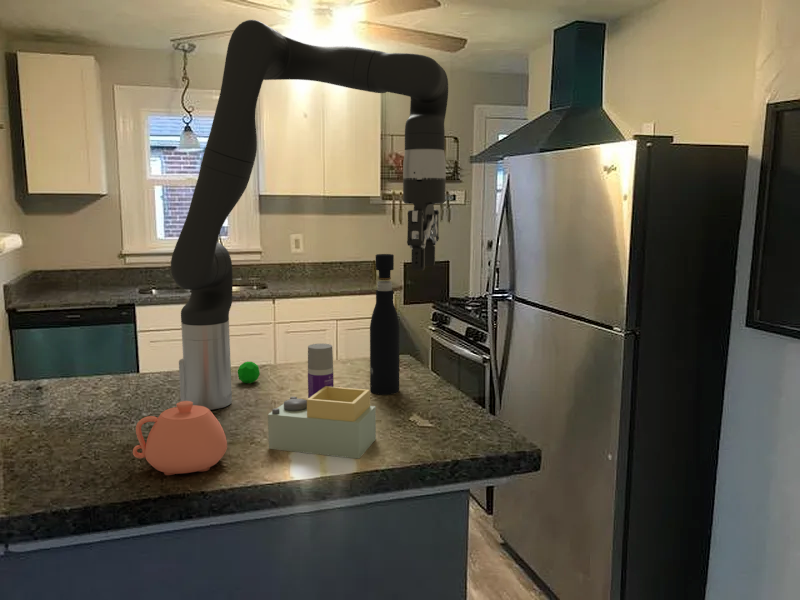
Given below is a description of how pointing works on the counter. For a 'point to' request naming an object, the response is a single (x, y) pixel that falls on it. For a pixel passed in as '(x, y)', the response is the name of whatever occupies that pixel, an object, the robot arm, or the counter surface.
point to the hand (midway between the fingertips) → (423, 268)
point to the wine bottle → (384, 333)
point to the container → (319, 367)
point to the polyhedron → (248, 372)
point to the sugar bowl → (182, 439)
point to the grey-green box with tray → (325, 423)
